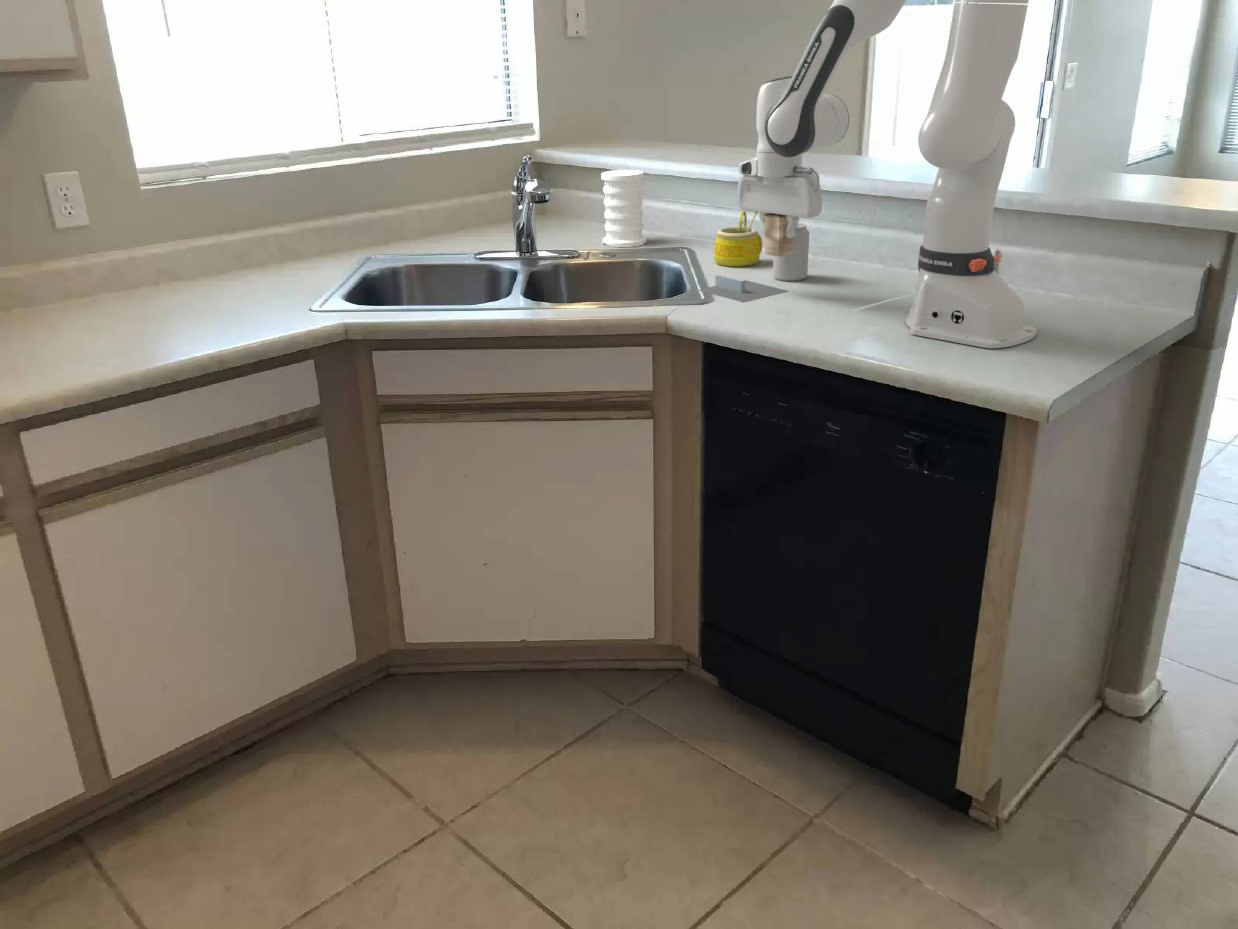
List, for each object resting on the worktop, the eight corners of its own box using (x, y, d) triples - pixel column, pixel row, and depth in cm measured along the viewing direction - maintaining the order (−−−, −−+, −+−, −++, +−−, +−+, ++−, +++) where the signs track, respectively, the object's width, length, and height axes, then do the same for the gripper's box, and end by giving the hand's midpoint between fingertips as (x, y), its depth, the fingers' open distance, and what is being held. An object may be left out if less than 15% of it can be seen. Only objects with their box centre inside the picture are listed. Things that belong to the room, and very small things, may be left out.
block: (792, 253, 192) (793, 213, 189) (778, 256, 190) (779, 216, 187) (778, 251, 195) (778, 211, 192) (764, 254, 193) (764, 214, 190)
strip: (745, 291, 197) (745, 280, 196) (740, 292, 197) (741, 281, 196) (719, 284, 203) (719, 273, 202) (715, 285, 202) (715, 274, 201)
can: (805, 275, 210) (808, 220, 205) (808, 283, 203) (811, 227, 198) (771, 275, 211) (773, 221, 206) (773, 283, 204) (775, 227, 199)
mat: (789, 292, 197) (789, 290, 196) (743, 304, 190) (743, 302, 190) (742, 281, 207) (742, 279, 207) (698, 291, 200) (698, 289, 200)
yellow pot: (732, 271, 215) (733, 218, 210) (704, 263, 224) (704, 212, 219) (776, 264, 221) (778, 211, 216) (747, 256, 230) (748, 205, 225)
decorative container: (630, 237, 256) (628, 168, 248) (654, 243, 247) (653, 172, 240) (594, 242, 250) (591, 172, 243) (617, 249, 241) (615, 177, 234)
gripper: (830, 165, 180) (828, 239, 185) (754, 161, 195) (755, 229, 201) (807, 169, 176) (806, 244, 182) (732, 165, 192) (733, 233, 197)
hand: (778, 236), depth 191 cm, fingers closed on block, 4 cm apart
